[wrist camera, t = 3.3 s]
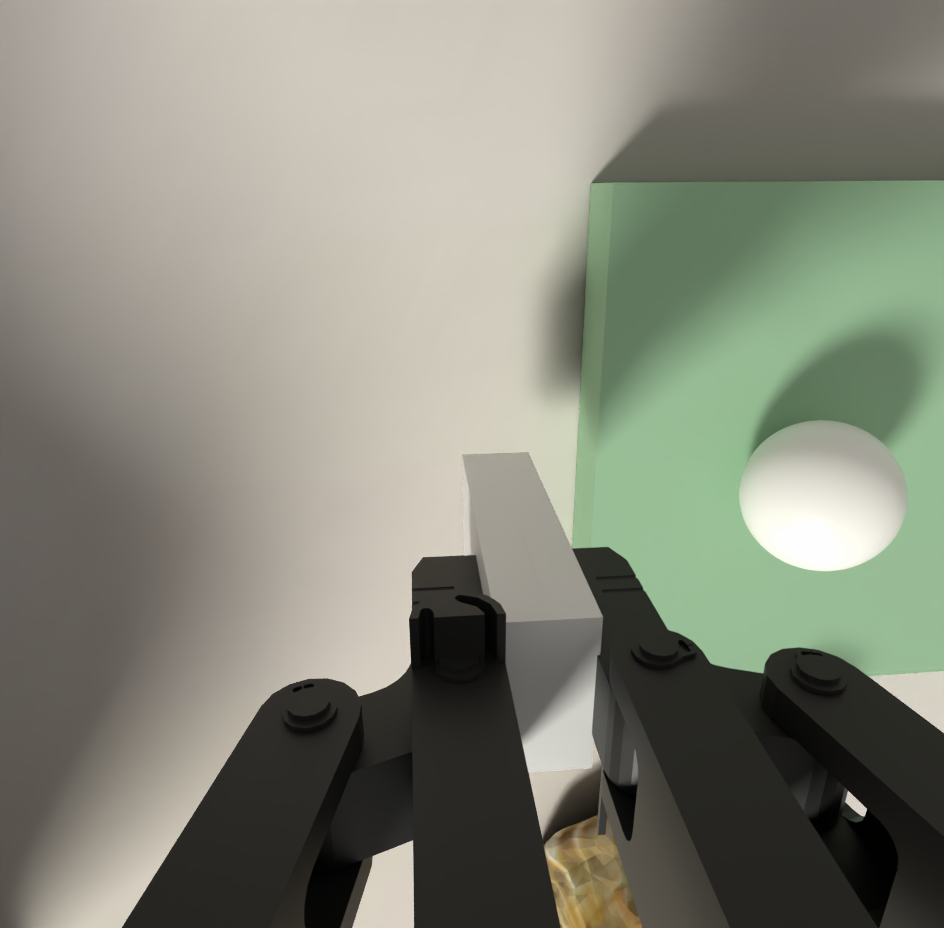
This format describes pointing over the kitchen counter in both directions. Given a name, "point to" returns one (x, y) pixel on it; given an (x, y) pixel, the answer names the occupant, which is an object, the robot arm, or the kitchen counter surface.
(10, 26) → the kitchen counter surface
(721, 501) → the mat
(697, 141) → the kitchen counter surface
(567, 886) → the seashell
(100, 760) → the kitchen counter surface
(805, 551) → the ball
